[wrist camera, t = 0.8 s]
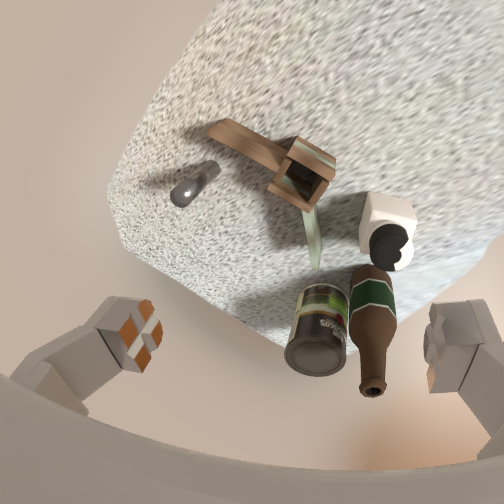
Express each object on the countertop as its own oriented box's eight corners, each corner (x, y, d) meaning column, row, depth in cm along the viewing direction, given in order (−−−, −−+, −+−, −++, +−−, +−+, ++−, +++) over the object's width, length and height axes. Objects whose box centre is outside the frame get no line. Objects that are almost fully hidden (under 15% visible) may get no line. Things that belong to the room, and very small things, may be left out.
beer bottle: (341, 284, 58) (331, 395, 39) (365, 255, 53) (369, 367, 34) (373, 302, 58) (375, 412, 39) (399, 275, 54) (414, 387, 34)
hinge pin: (203, 158, 51) (170, 185, 42) (220, 161, 51) (190, 189, 41) (202, 175, 53) (170, 205, 43) (219, 178, 53) (189, 209, 43)
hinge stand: (368, 180, 46) (373, 200, 40) (320, 245, 55) (316, 273, 48) (235, 102, 45) (216, 109, 38) (200, 177, 53) (180, 195, 47)
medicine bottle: (357, 229, 51) (359, 272, 42) (367, 190, 47) (374, 226, 38) (397, 238, 50) (407, 282, 40) (409, 200, 46) (425, 238, 36)
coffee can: (323, 272, 58) (315, 328, 46) (359, 304, 59) (358, 361, 48) (286, 300, 63) (271, 355, 52) (321, 329, 65) (313, 383, 54)
